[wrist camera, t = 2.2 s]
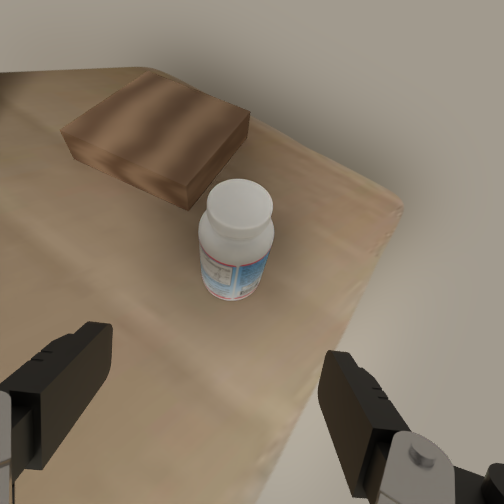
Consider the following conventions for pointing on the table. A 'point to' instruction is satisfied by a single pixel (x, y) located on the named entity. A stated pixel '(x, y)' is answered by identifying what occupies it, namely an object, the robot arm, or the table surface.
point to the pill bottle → (235, 238)
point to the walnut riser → (159, 137)
